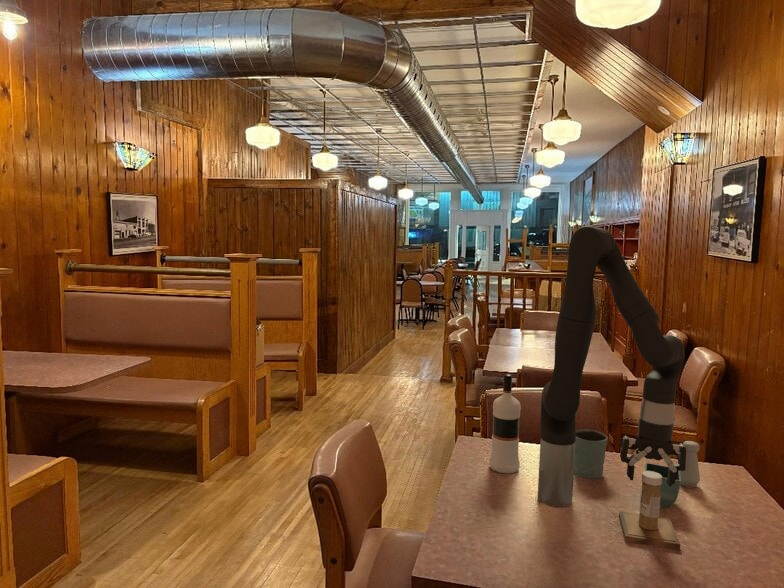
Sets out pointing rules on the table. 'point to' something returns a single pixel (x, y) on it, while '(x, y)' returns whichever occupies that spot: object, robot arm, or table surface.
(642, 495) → the sprinkles bottle
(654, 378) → the robot arm
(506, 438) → the vodka
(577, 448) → the green round cup
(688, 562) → the table surface
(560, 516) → the table surface
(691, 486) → the salt shaker
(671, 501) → the flower pot
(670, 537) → the brown rectangular tray
